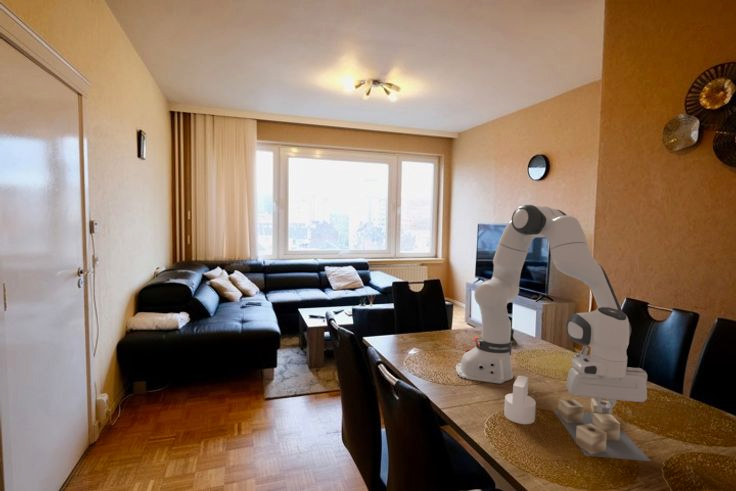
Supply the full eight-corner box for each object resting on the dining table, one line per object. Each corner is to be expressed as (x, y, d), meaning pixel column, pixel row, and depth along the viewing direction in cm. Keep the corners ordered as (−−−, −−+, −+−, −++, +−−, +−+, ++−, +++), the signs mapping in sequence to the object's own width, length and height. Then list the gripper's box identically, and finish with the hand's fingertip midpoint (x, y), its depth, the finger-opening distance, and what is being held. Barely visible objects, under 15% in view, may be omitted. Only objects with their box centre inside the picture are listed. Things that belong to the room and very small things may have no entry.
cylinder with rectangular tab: (532, 429, 112) (534, 390, 111) (501, 420, 117) (502, 382, 116) (536, 416, 120) (538, 379, 119) (507, 408, 124) (508, 373, 123)
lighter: (575, 366, 161) (576, 348, 160) (572, 365, 162) (573, 347, 162) (588, 364, 163) (589, 346, 162) (584, 363, 165) (585, 345, 164)
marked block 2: (592, 420, 116) (593, 404, 116) (590, 413, 121) (591, 397, 120) (611, 424, 114) (612, 407, 114) (608, 416, 119) (609, 400, 118)
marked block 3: (591, 454, 99) (592, 435, 99) (575, 443, 104) (576, 425, 104) (605, 451, 101) (606, 432, 100) (589, 440, 105) (590, 422, 105)
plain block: (600, 439, 106) (601, 422, 106) (592, 429, 111) (593, 413, 111) (619, 440, 105) (620, 423, 105) (610, 430, 110) (611, 414, 110)
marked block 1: (567, 423, 114) (568, 406, 114) (558, 414, 119) (558, 398, 119) (583, 422, 115) (584, 406, 114) (573, 414, 120) (574, 398, 119)
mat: (585, 457, 99) (585, 455, 99) (552, 411, 123) (552, 409, 122) (651, 463, 97) (651, 461, 97) (605, 415, 120) (605, 413, 120)
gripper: (641, 364, 109) (637, 410, 110) (566, 358, 111) (562, 403, 113) (654, 373, 102) (650, 421, 103) (574, 367, 105) (571, 414, 106)
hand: (603, 412), depth 108 cm, fingers closed
